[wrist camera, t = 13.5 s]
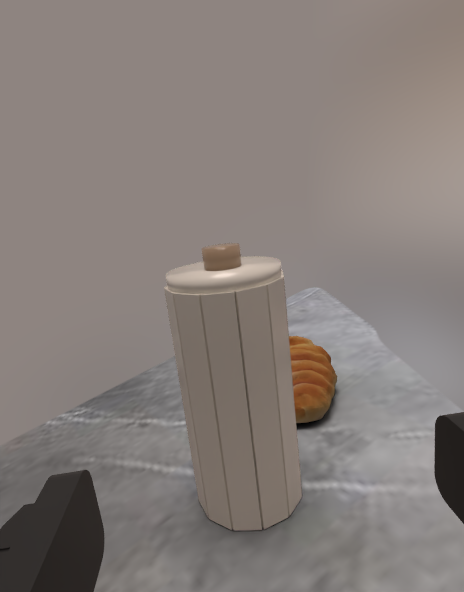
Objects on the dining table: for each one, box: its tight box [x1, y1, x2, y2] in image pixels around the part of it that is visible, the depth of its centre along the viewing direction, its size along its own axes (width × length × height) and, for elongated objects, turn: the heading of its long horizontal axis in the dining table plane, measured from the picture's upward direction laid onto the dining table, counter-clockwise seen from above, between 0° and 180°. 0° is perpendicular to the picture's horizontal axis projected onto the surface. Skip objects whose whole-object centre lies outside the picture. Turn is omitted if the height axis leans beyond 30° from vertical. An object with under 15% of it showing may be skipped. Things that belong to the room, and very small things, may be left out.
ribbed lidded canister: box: [164, 243, 302, 531], centre depth 20 cm, size 6×6×14 cm
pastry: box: [289, 336, 337, 423], centre depth 30 cm, size 9×7×4 cm
